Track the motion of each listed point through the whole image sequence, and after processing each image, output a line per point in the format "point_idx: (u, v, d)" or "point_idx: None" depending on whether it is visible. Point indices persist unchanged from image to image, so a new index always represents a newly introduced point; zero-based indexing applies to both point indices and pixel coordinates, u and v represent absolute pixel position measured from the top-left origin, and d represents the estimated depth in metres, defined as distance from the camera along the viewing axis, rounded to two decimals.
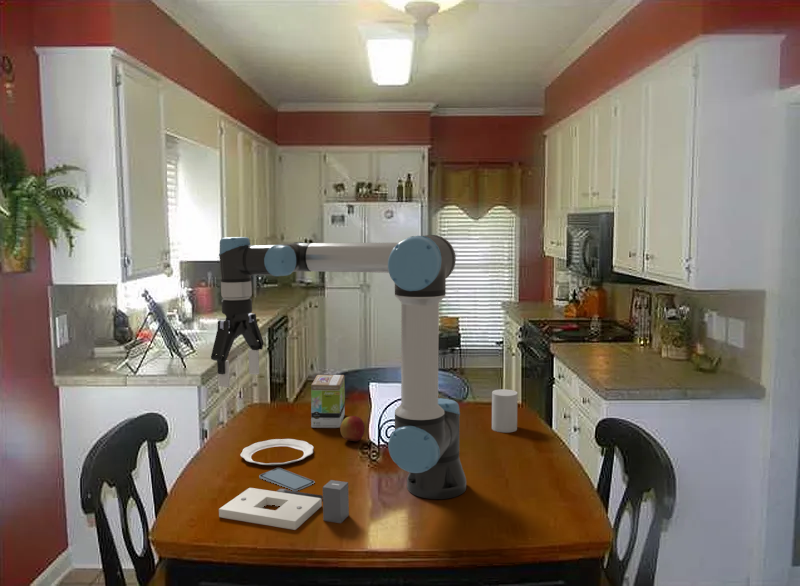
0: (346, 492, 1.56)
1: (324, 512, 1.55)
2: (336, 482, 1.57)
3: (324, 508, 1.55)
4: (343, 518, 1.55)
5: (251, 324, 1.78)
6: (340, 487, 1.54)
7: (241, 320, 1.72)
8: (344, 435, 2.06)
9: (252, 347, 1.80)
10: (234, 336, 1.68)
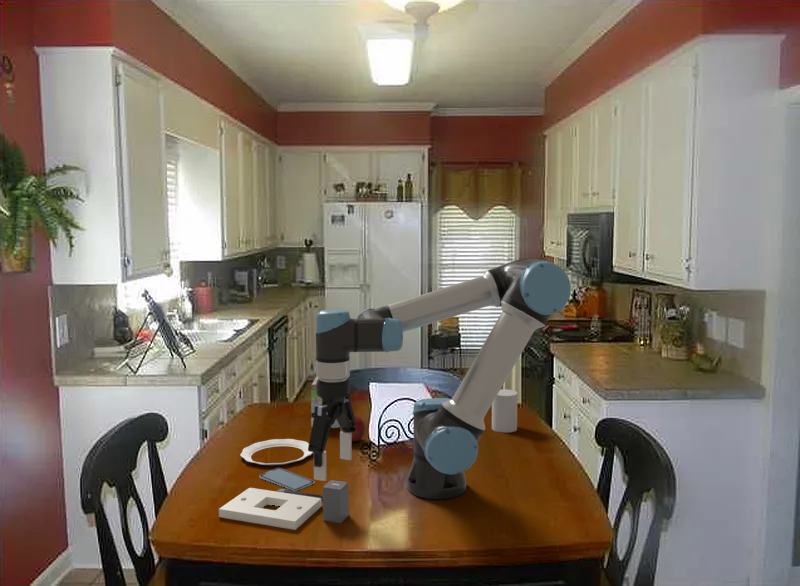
0: (346, 492, 1.56)
1: (324, 512, 1.55)
2: (336, 482, 1.57)
3: (324, 508, 1.55)
4: (343, 518, 1.55)
5: (345, 404, 1.59)
6: (340, 487, 1.54)
7: (337, 403, 1.53)
8: None
9: (344, 429, 1.61)
10: (331, 423, 1.50)
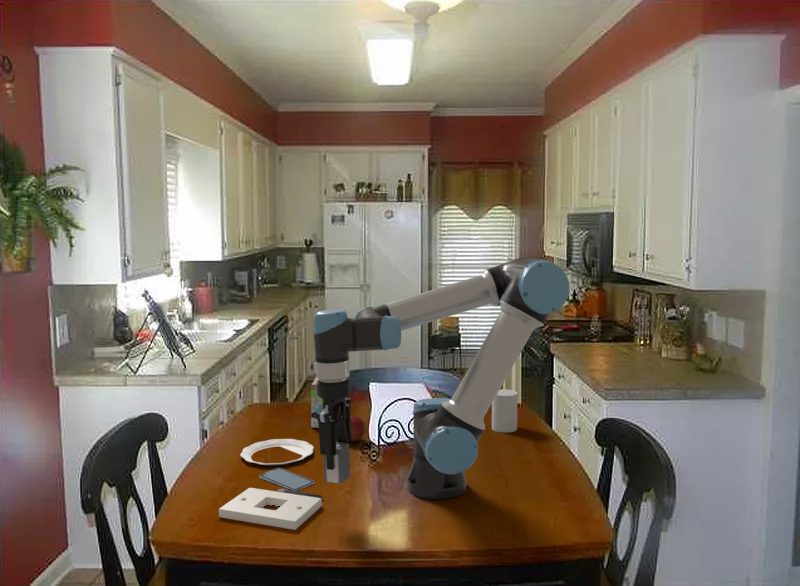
0: (346, 452, 1.55)
1: (325, 473, 1.54)
2: (337, 443, 1.56)
3: (325, 469, 1.54)
4: (344, 479, 1.54)
5: None
6: (341, 447, 1.53)
7: None
8: None
9: None
10: (336, 424, 1.51)
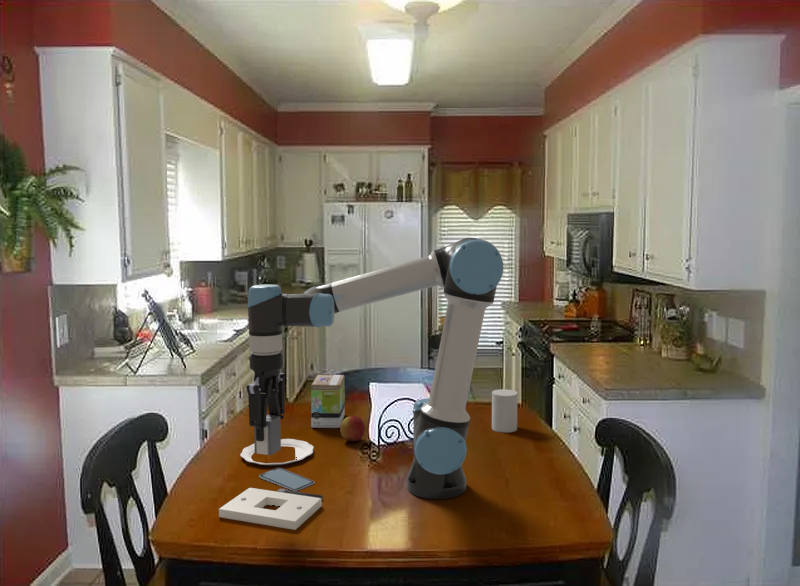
0: (277, 425, 1.58)
1: (255, 444, 1.57)
2: (268, 416, 1.59)
3: (255, 440, 1.56)
4: (274, 451, 1.57)
5: (278, 384, 1.61)
6: (271, 419, 1.56)
7: None
8: (344, 435, 2.06)
9: None
10: (267, 397, 1.54)
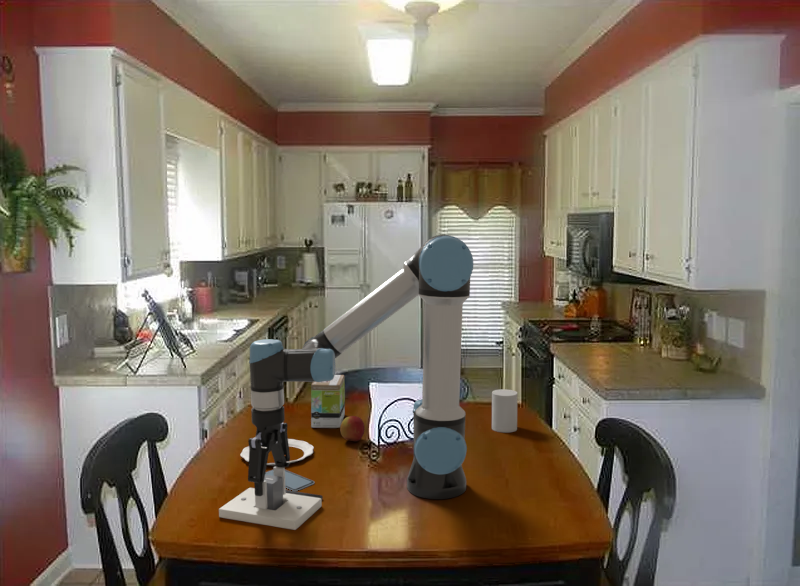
0: (280, 486, 1.59)
1: None
2: (270, 477, 1.60)
3: None
4: None
5: (281, 435, 1.63)
6: (274, 481, 1.57)
7: (273, 426, 1.57)
8: (344, 435, 2.06)
9: (278, 464, 1.63)
10: (268, 451, 1.55)
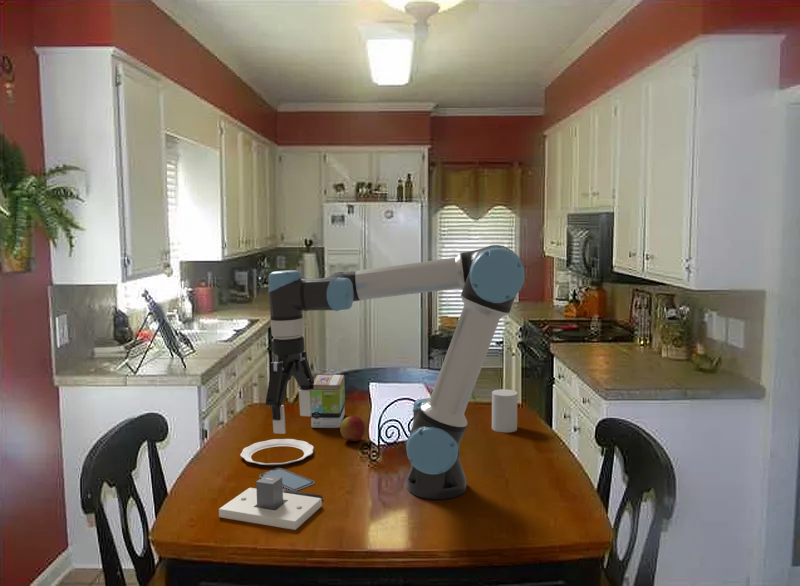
0: (279, 486, 1.59)
1: (258, 506, 1.58)
2: (270, 477, 1.60)
3: (258, 502, 1.58)
4: None
5: (302, 363, 1.65)
6: (274, 481, 1.57)
7: (293, 360, 1.59)
8: (344, 435, 2.06)
9: (303, 387, 1.67)
10: (288, 378, 1.56)
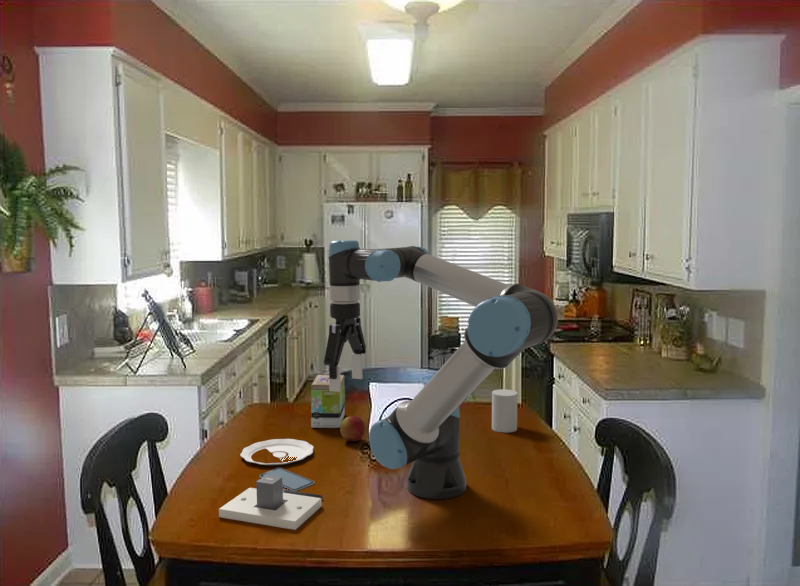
0: (279, 486, 1.59)
1: (258, 506, 1.58)
2: (270, 477, 1.60)
3: (258, 502, 1.58)
4: None
5: (355, 328, 1.76)
6: (274, 481, 1.57)
7: (349, 324, 1.70)
8: (344, 435, 2.06)
9: (355, 351, 1.78)
10: (344, 340, 1.66)
